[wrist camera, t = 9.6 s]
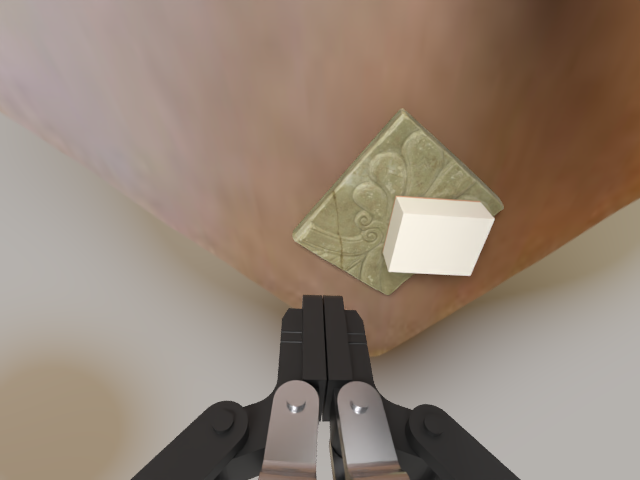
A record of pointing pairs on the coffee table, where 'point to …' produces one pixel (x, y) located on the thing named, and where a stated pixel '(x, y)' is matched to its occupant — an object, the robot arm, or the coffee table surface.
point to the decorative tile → (385, 199)
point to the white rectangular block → (435, 235)
